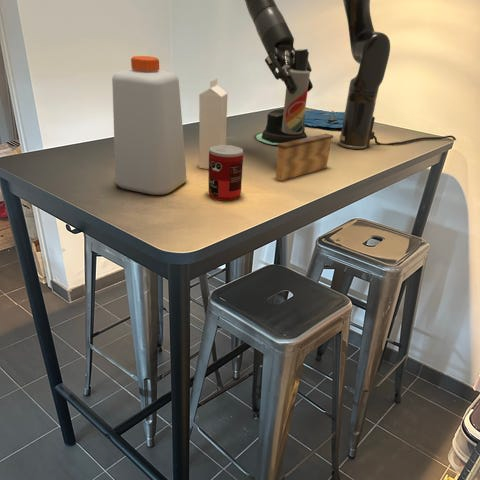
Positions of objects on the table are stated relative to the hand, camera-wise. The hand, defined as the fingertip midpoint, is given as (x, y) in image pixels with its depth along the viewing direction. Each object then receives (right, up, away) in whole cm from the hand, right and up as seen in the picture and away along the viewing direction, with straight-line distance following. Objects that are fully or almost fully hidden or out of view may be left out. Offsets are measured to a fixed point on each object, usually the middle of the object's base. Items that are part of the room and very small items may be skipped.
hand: (302, 90), depth 120 cm
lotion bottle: (-2, -8, +7) cm, 11 cm away
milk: (-24, -16, +11) cm, 31 cm away
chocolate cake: (-1, +2, +39) cm, 39 cm away
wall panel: (+1, -18, +10) cm, 21 cm away
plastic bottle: (-38, -26, -4) cm, 46 cm away
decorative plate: (+19, +20, +65) cm, 70 cm away
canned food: (-20, -30, -7) cm, 36 cm away
